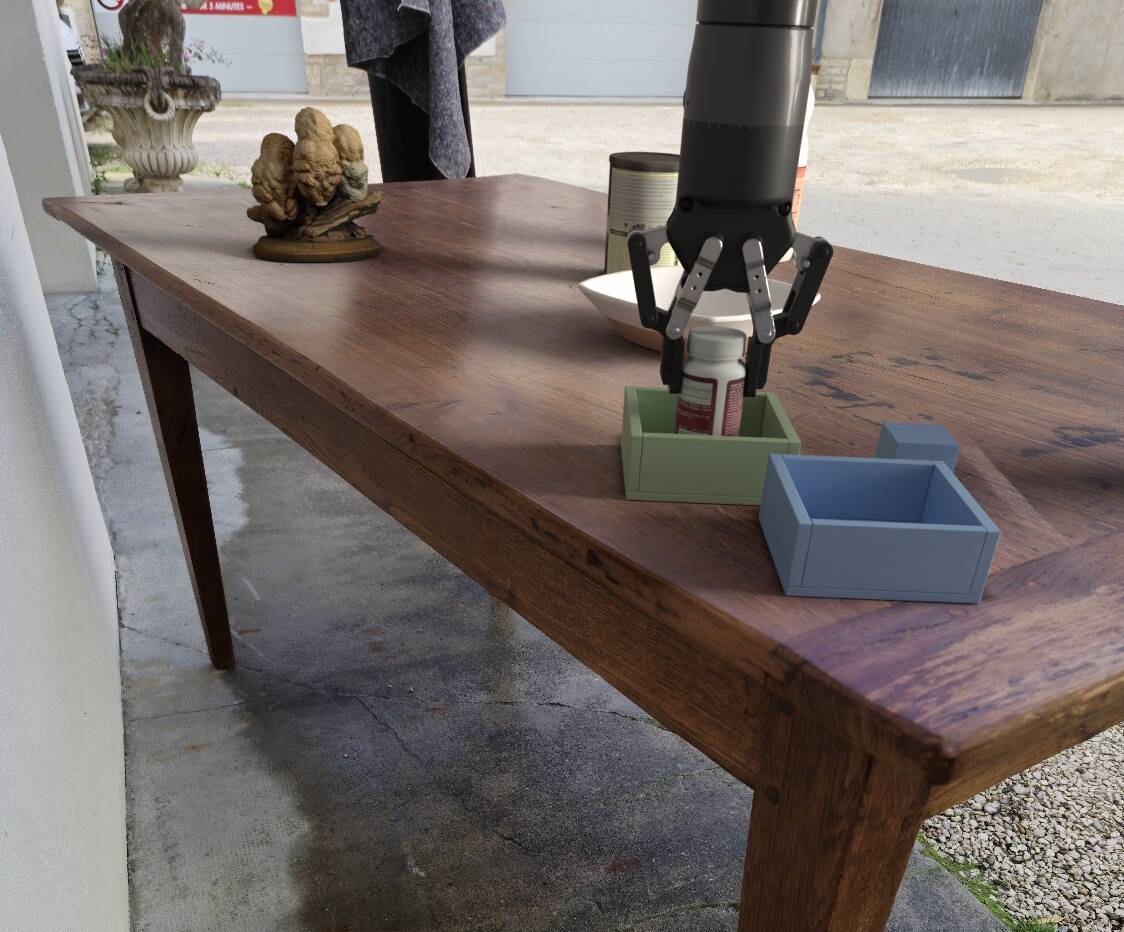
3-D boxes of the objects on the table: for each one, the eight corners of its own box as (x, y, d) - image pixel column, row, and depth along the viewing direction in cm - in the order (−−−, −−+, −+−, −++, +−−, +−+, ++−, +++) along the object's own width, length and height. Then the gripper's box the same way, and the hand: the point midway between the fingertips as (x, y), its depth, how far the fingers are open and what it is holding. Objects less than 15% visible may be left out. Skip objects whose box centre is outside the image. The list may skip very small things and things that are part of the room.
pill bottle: (723, 439, 79) (738, 323, 74) (745, 461, 76) (762, 340, 71) (663, 441, 78) (674, 324, 74) (683, 463, 75) (695, 342, 70)
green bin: (766, 450, 83) (775, 392, 80) (790, 507, 73) (801, 442, 71) (620, 444, 83) (624, 385, 80) (626, 500, 73) (630, 435, 70)
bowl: (838, 348, 110) (847, 295, 107) (708, 383, 97) (715, 324, 94) (681, 308, 122) (686, 260, 119) (549, 335, 110) (550, 282, 107)
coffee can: (591, 273, 137) (597, 150, 129) (663, 272, 140) (674, 151, 131) (618, 290, 129) (627, 160, 121) (694, 288, 132) (708, 161, 124)
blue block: (927, 482, 78) (942, 424, 76) (944, 505, 75) (960, 444, 72) (869, 480, 78) (882, 421, 76) (883, 502, 75) (897, 442, 72)
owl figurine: (376, 244, 148) (368, 103, 138) (397, 260, 139) (390, 111, 129) (246, 248, 142) (228, 101, 132) (260, 265, 133) (241, 109, 123)
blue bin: (926, 526, 71) (943, 460, 69) (979, 604, 62) (1001, 531, 59) (758, 519, 71) (768, 453, 69) (785, 596, 62) (798, 523, 59)
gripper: (631, 114, 61) (612, 404, 71) (872, 125, 62) (820, 413, 71) (626, 105, 68) (610, 373, 77) (846, 115, 68) (801, 382, 78)
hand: (711, 391), depth 74 cm, fingers closed on pill bottle, 4 cm apart
